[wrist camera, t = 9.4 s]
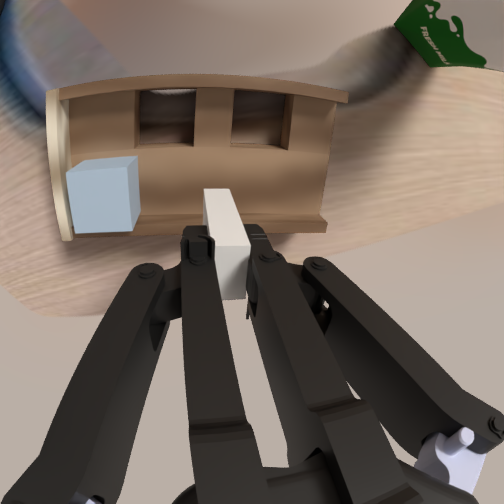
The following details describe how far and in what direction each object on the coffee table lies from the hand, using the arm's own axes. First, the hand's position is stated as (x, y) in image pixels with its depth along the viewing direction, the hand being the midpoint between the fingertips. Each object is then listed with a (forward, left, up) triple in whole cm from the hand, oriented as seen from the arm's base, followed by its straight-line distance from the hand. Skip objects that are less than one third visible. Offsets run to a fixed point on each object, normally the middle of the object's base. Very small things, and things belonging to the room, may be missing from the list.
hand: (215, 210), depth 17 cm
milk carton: (-20, +23, -10) cm, 32 cm away
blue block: (+1, -9, -8) cm, 12 cm away
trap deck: (-2, -1, -10) cm, 11 cm away
